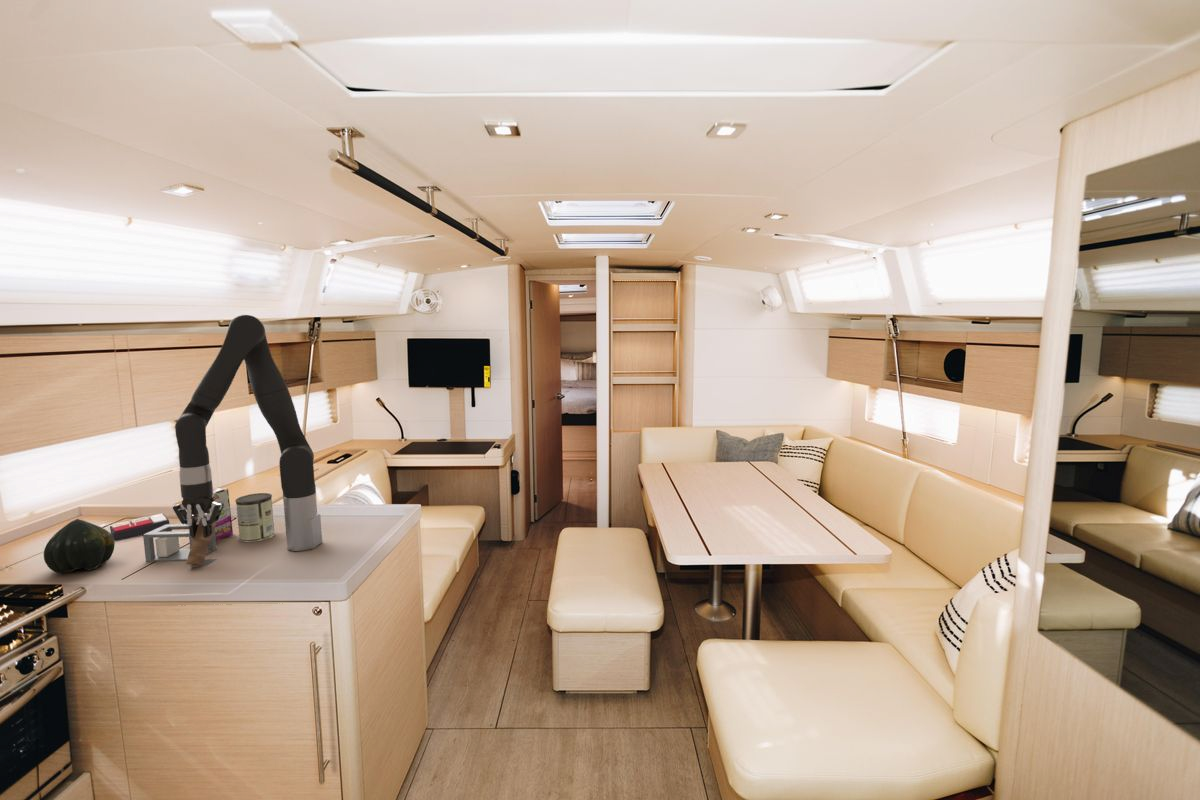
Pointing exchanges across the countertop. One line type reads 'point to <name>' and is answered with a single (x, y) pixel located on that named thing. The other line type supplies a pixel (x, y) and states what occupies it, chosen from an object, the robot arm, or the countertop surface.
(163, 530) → the breaker guard
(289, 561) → the countertop surface
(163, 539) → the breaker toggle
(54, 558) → the squash
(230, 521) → the candy bar box
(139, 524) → the flat navy red box
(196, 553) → the wooden block
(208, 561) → the stylus pad
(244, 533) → the coffee can
